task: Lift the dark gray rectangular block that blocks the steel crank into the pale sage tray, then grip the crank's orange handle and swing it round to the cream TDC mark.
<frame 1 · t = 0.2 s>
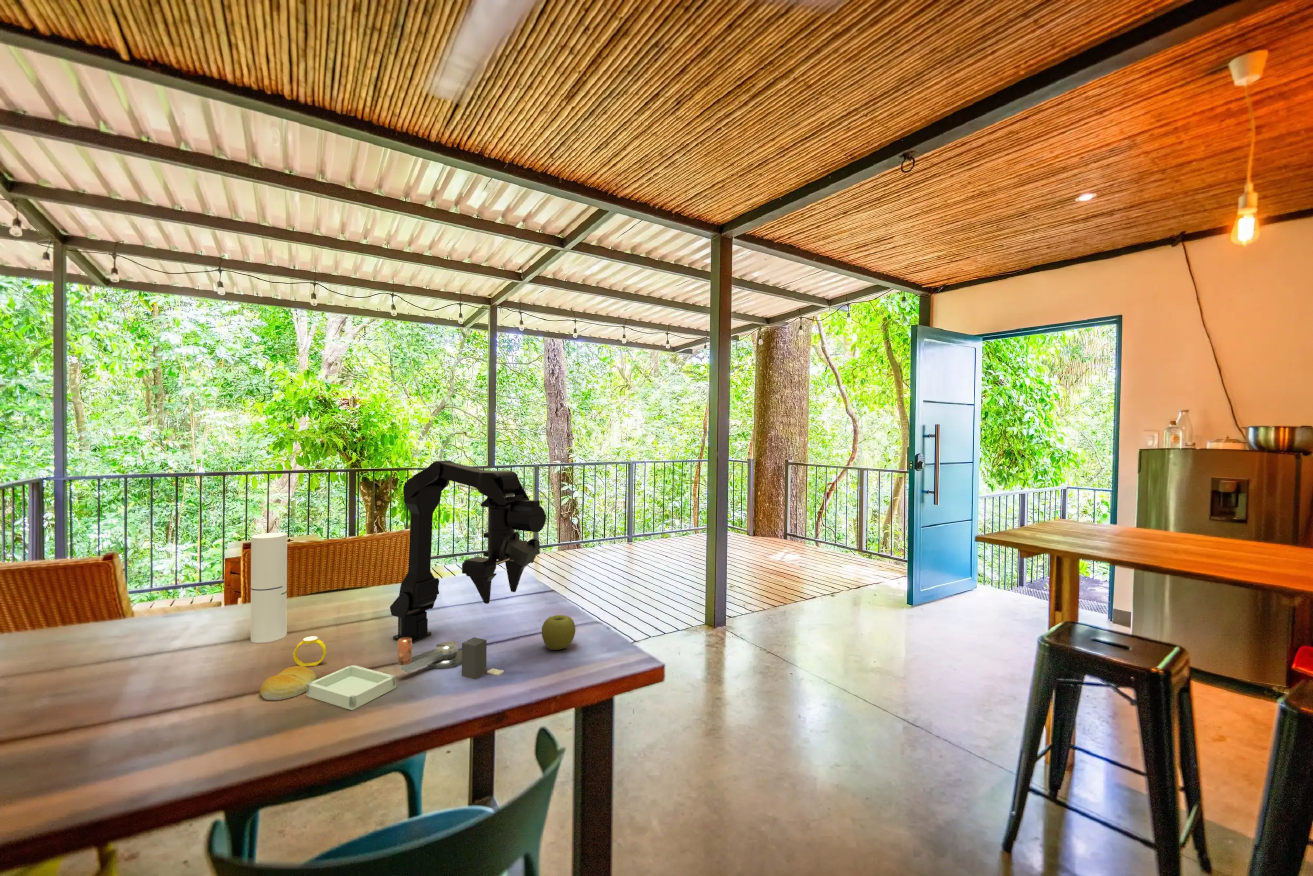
hand: (500, 597, 121), 14 cm above the table, fingers open, 9 cm apart
dark gray rectangular block: (474, 674, 114), on the table
apple: (558, 648, 129), on the table
bread roll: (288, 691, 107), on the table
tdc mark: (495, 672, 115), on the table
hub plate: (446, 661, 121), on the table
cylindrical container: (268, 638, 133), on the table
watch: (310, 666, 118), on the table
crank: (428, 647, 117), point 5 cm above the table, hinge at 0.0°
tray: (352, 691, 106), on the table
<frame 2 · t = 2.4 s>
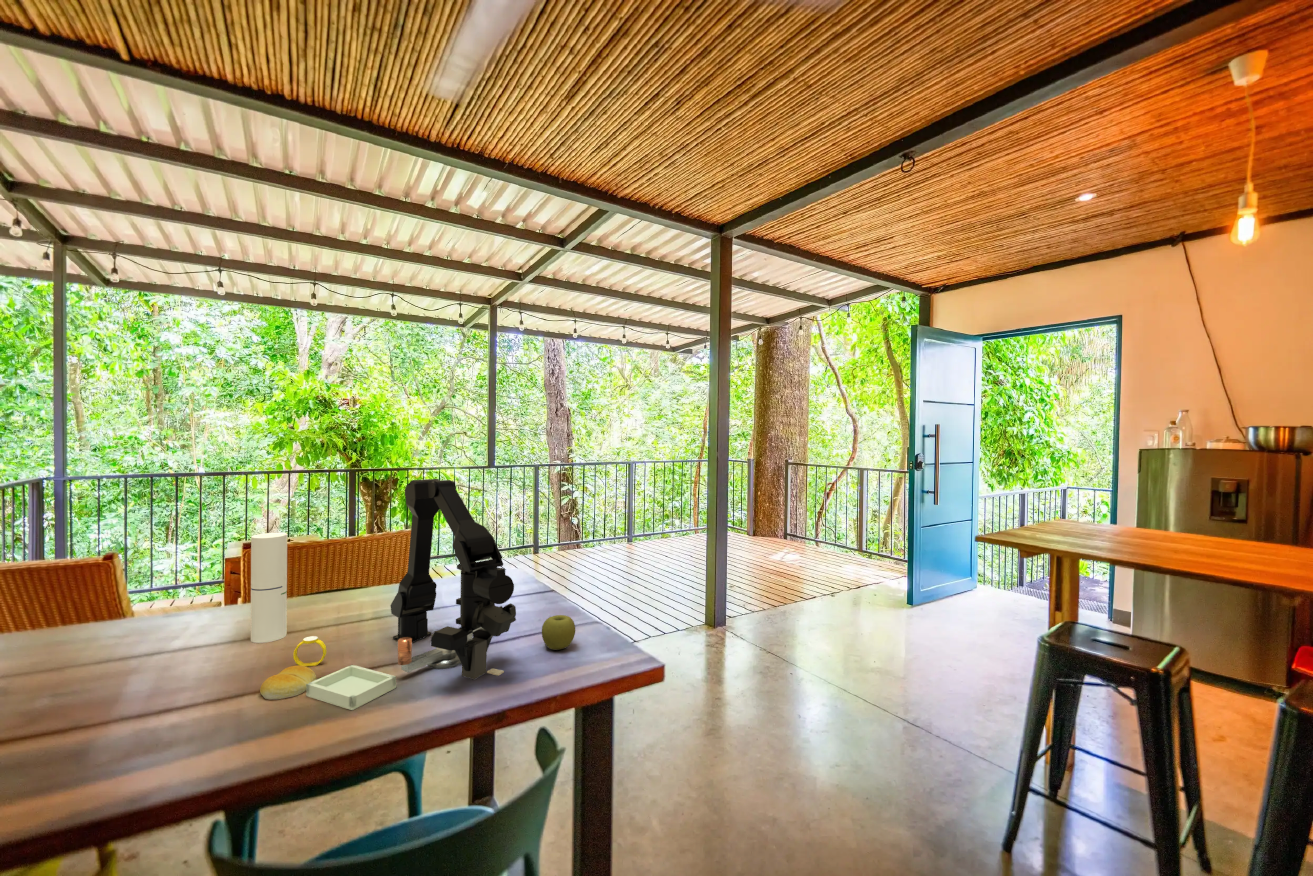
hand: (474, 667, 114), 2 cm above the table, fingers closed on dark gray rectangular block, 3 cm apart
dark gray rectangular block: (474, 674, 114), on the table, touching gripper
everything else where it was.
when the fingers open (3 cm above the table, at t = 6.4 s): dark gray rectangular block drops 1 cm, resting on tray.
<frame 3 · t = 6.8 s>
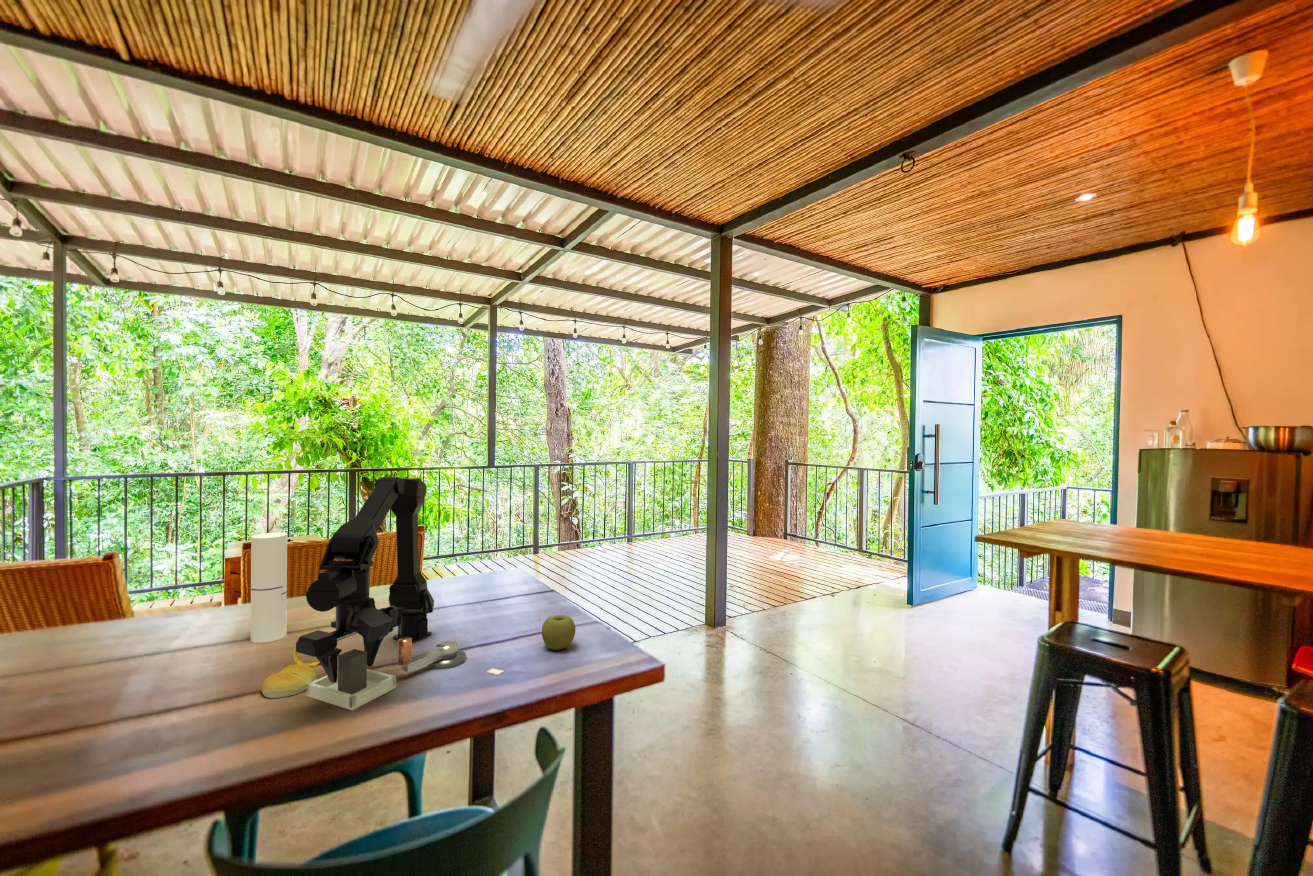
hand: (352, 674, 106), 3 cm above the table, fingers open, 7 cm apart
dark gray rectangular block: (352, 689, 106), resting on tray
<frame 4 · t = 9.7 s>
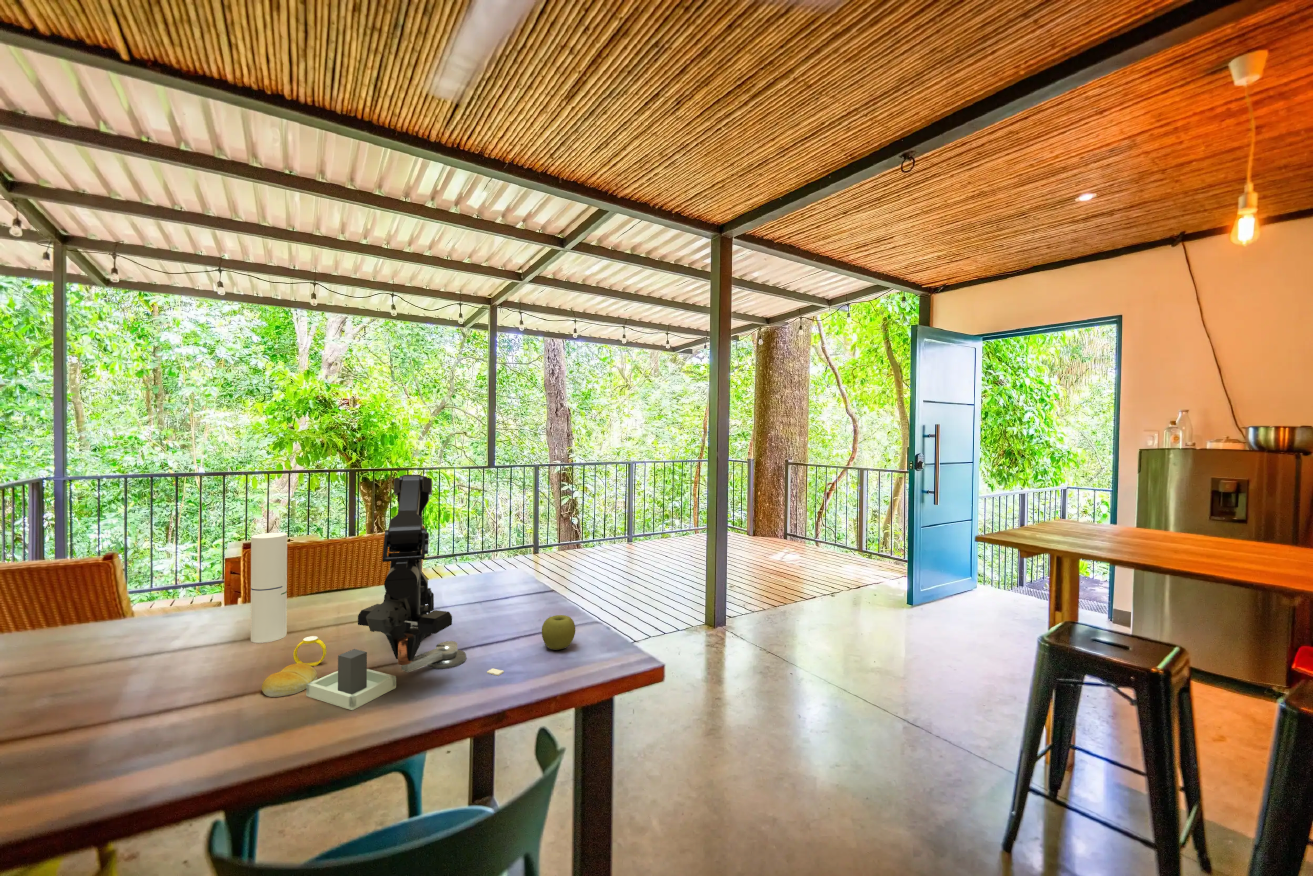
hand: (404, 659, 112), 4 cm above the table, fingers closed on crank, 3 cm apart
crank: (428, 647, 117), point 5 cm above the table, hinge at 0.0°, touching gripper
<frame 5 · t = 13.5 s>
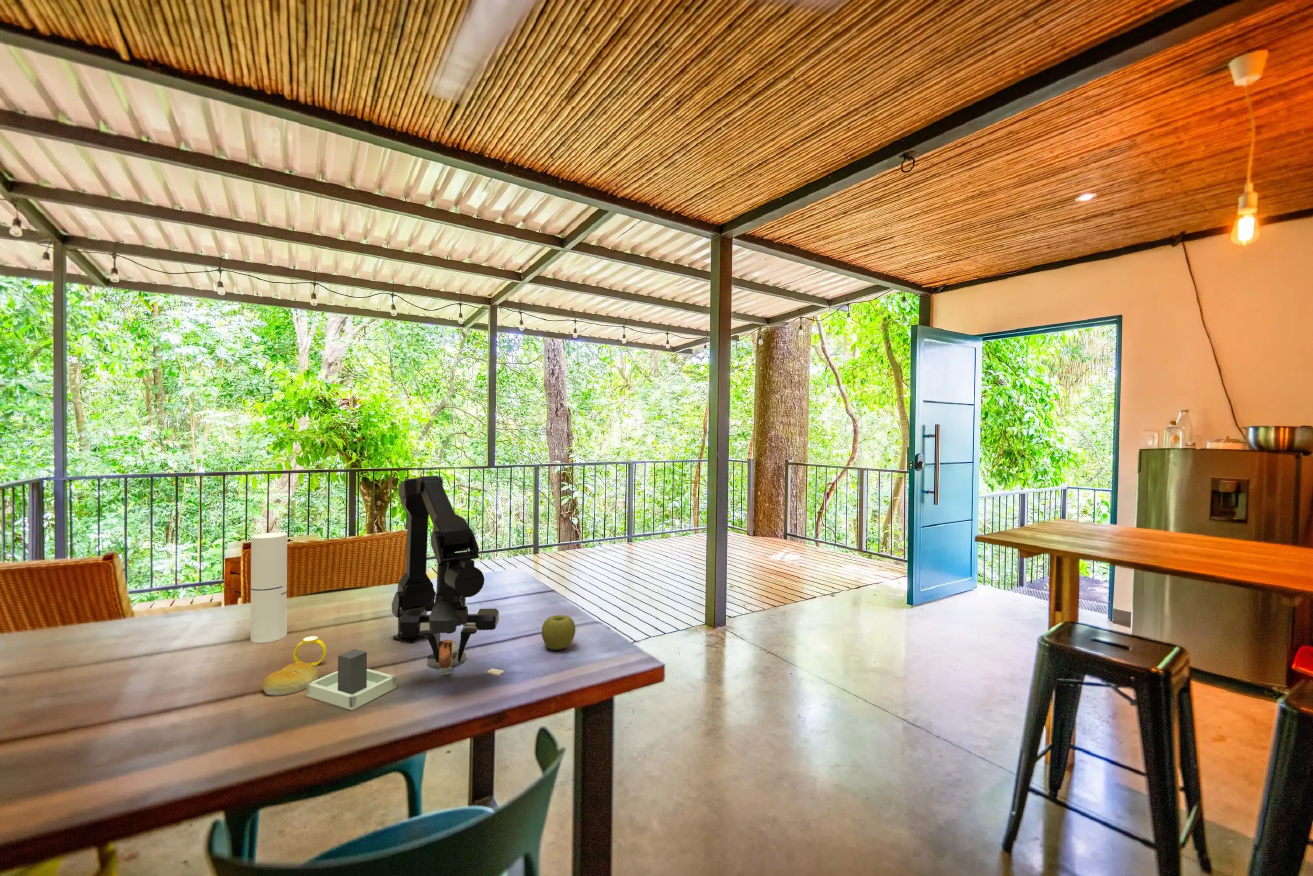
hand: (448, 661, 111), 4 cm above the table, fingers open, 4 cm apart
crank: (446, 648, 116), point 5 cm above the table, hinge at 52.8°, touching gripper
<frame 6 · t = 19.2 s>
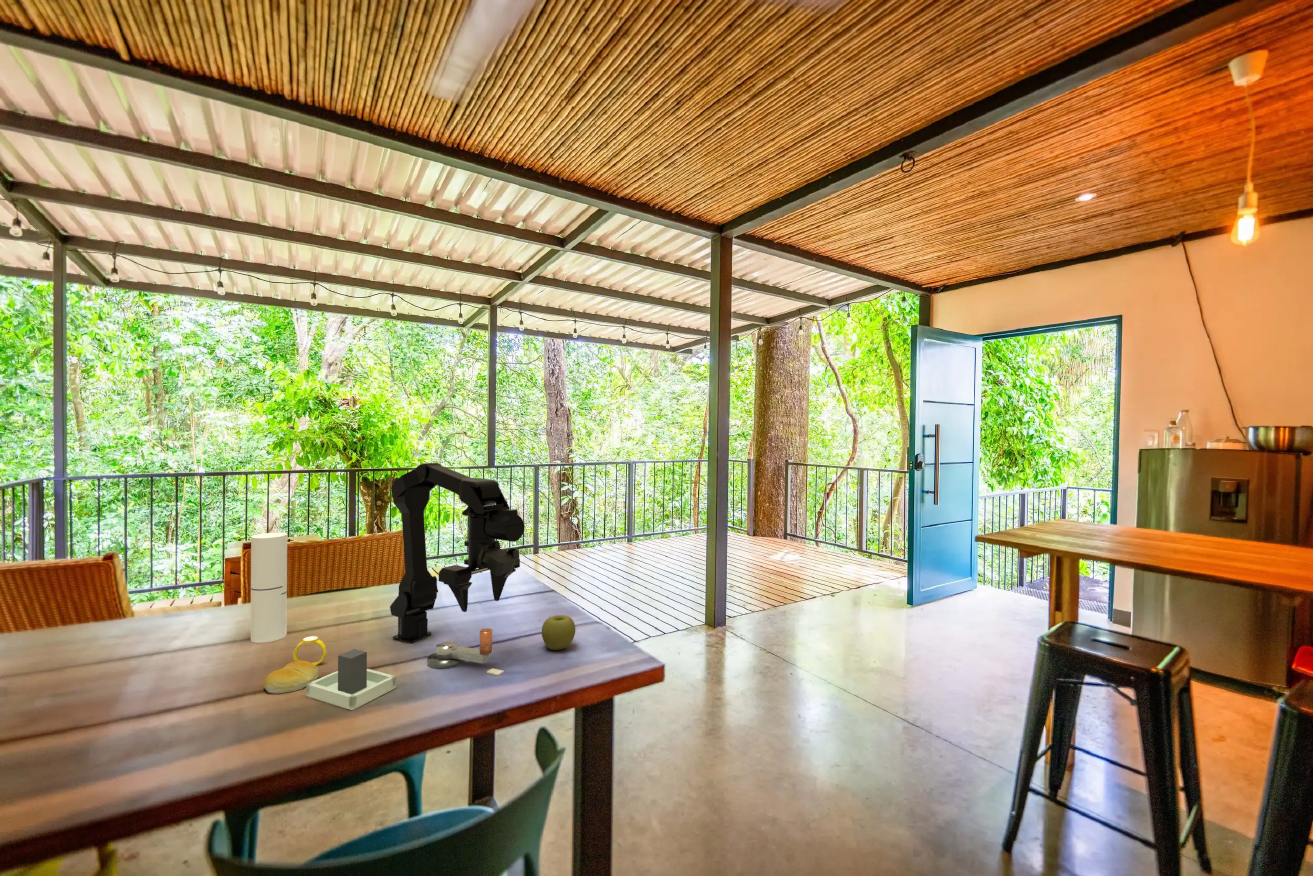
hand: (481, 606, 122), 12 cm above the table, fingers open, 9 cm apart
crank: (464, 642, 119), point 5 cm above the table, hinge at 106.6°
at the end: dark gray rectangular block inside the target area on the tray (0.1 cm from its centre), point 0.5 cm above the tray's base; crank at +107° (first picture: +0°) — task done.
